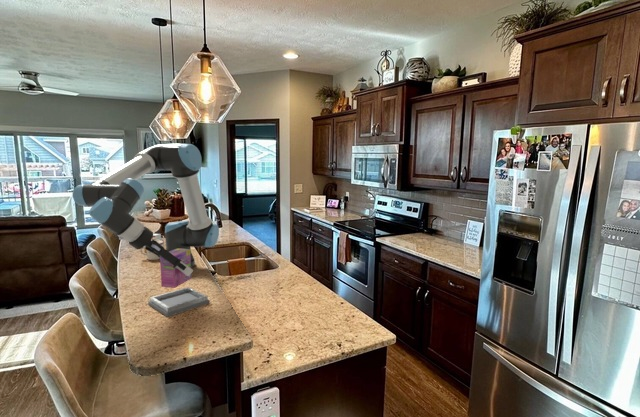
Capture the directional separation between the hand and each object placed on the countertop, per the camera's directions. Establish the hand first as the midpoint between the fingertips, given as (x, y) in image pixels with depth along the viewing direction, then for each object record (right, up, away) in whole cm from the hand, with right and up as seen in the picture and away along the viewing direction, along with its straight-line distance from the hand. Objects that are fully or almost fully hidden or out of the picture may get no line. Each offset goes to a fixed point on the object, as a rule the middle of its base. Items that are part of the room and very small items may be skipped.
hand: (184, 269), depth 129 cm
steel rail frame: (-2, -12, 0) cm, 12 cm away
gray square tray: (-2, -13, 0) cm, 13 cm away
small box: (-51, -3, +81) cm, 96 cm away
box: (-2, -5, -2) cm, 5 cm away
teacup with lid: (-43, -5, +64) cm, 77 cm away
